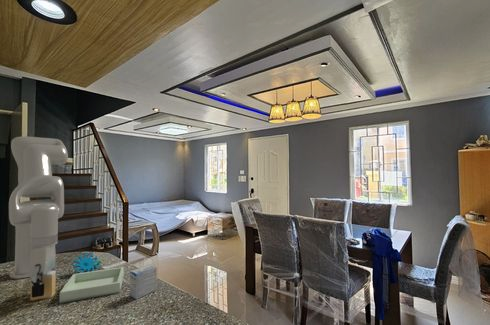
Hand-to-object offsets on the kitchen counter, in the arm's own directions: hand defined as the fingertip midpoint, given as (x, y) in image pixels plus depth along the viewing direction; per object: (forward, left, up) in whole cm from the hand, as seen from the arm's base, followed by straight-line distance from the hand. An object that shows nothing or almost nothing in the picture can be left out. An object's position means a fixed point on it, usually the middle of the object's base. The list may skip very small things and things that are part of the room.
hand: (43, 290), depth 85 cm
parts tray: (0, +16, -2) cm, 16 cm away
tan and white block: (0, 0, -2) cm, 2 cm away
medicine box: (+12, +33, -2) cm, 35 cm away
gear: (-18, +10, -2) cm, 21 cm away
